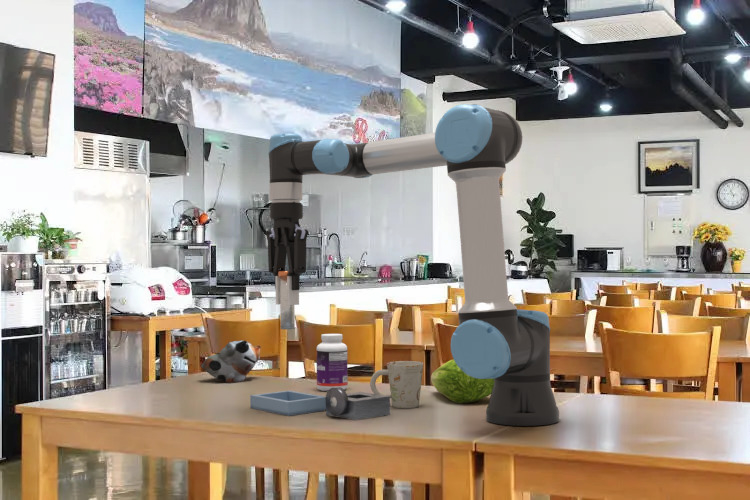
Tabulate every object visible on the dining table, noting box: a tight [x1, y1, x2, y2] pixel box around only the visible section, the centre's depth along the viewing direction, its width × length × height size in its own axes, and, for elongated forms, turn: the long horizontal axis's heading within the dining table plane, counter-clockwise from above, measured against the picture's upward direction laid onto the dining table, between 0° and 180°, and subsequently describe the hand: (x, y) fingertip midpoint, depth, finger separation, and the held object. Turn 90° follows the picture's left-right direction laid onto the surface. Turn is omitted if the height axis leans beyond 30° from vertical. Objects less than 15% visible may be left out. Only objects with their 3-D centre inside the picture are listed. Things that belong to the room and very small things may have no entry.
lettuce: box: [430, 359, 494, 404], centre depth 240 cm, size 12×24×13 cm
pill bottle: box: [316, 333, 349, 392], centre depth 257 cm, size 8×8×14 cm
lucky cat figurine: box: [200, 340, 262, 384], centre depth 279 cm, size 15×12×14 cm
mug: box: [369, 360, 424, 409], centre depth 229 cm, size 8×13×10 cm, turn 78°
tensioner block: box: [325, 387, 391, 421], centre depth 217 cm, size 10×12×6 cm
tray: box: [249, 390, 326, 417], centre depth 226 cm, size 15×11×3 cm
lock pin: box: [278, 270, 296, 330], centre depth 226 cm, size 4×4×13 cm
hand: (287, 304), depth 226 cm, fingers closed on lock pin, 4 cm apart
